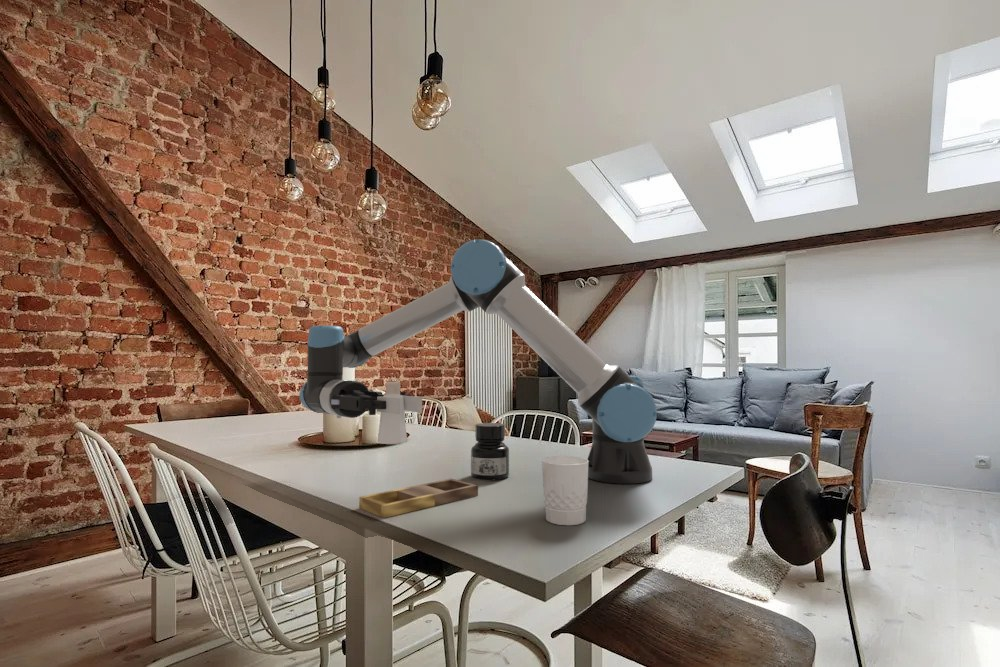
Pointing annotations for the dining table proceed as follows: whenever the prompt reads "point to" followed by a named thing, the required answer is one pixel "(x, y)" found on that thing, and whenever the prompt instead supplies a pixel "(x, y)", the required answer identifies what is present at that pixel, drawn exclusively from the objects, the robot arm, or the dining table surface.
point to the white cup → (565, 489)
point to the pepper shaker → (393, 419)
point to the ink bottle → (490, 452)
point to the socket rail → (417, 497)
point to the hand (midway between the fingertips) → (409, 405)
